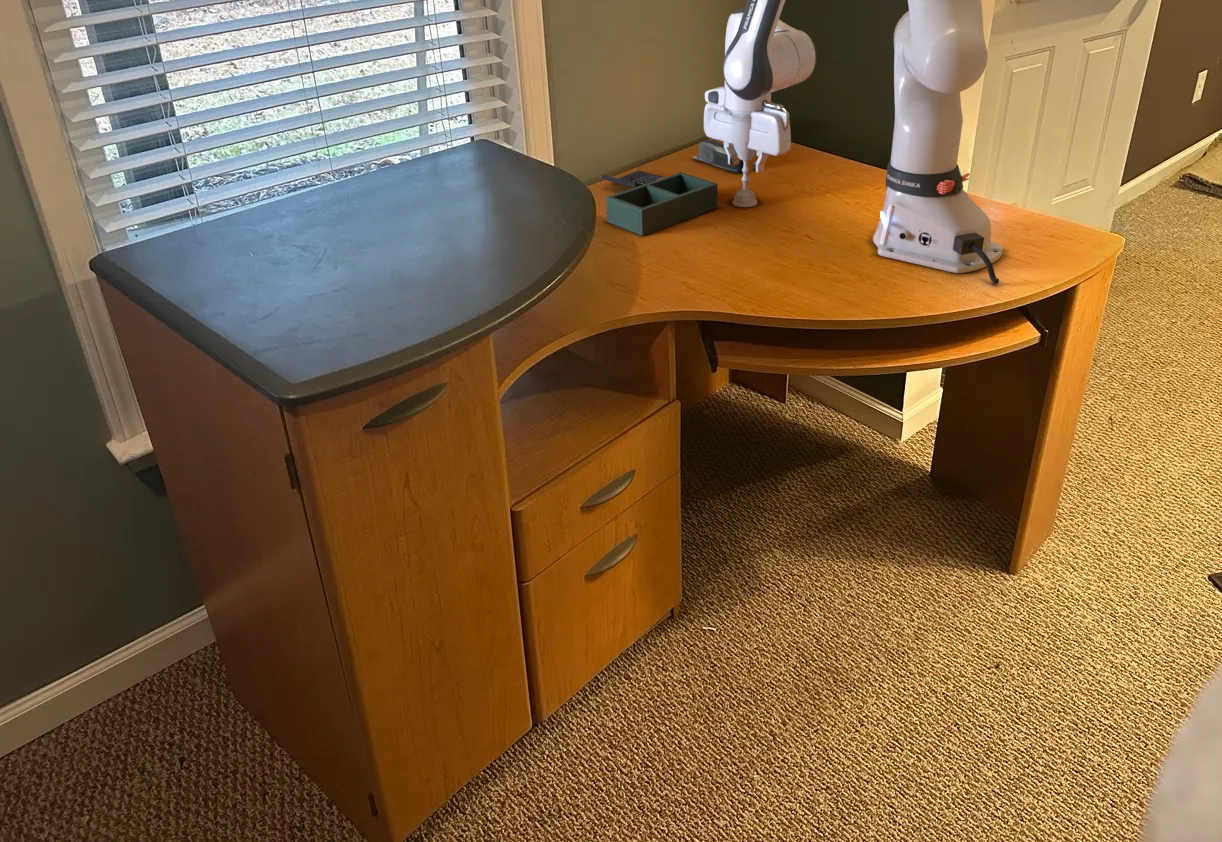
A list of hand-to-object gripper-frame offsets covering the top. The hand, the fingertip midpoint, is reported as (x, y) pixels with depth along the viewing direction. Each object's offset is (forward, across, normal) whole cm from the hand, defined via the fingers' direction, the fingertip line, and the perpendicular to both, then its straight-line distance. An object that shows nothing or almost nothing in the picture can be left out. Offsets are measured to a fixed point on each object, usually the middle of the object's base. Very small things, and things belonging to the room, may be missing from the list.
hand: (745, 167), depth 195 cm
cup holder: (+7, +7, +16) cm, 19 cm away
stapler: (+7, +20, -13) cm, 25 cm away
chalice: (+7, 0, 0) cm, 7 cm away
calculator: (+7, +24, +8) cm, 26 cm away
